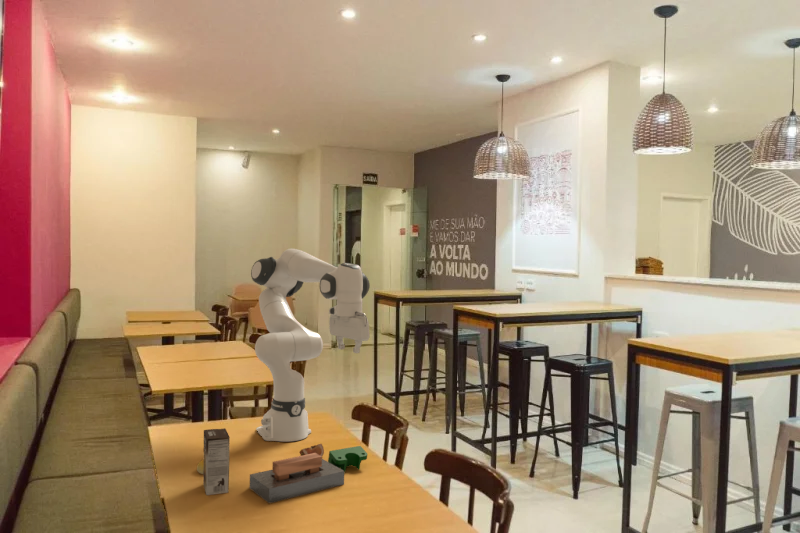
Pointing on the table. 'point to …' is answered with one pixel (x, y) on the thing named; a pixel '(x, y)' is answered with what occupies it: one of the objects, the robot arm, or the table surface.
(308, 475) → the cinder block
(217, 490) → the coffee box
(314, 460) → the wooden bridge block
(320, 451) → the fruit slice
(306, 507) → the table surface
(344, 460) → the clamp
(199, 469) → the bread roll
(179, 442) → the table surface
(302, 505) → the table surface
